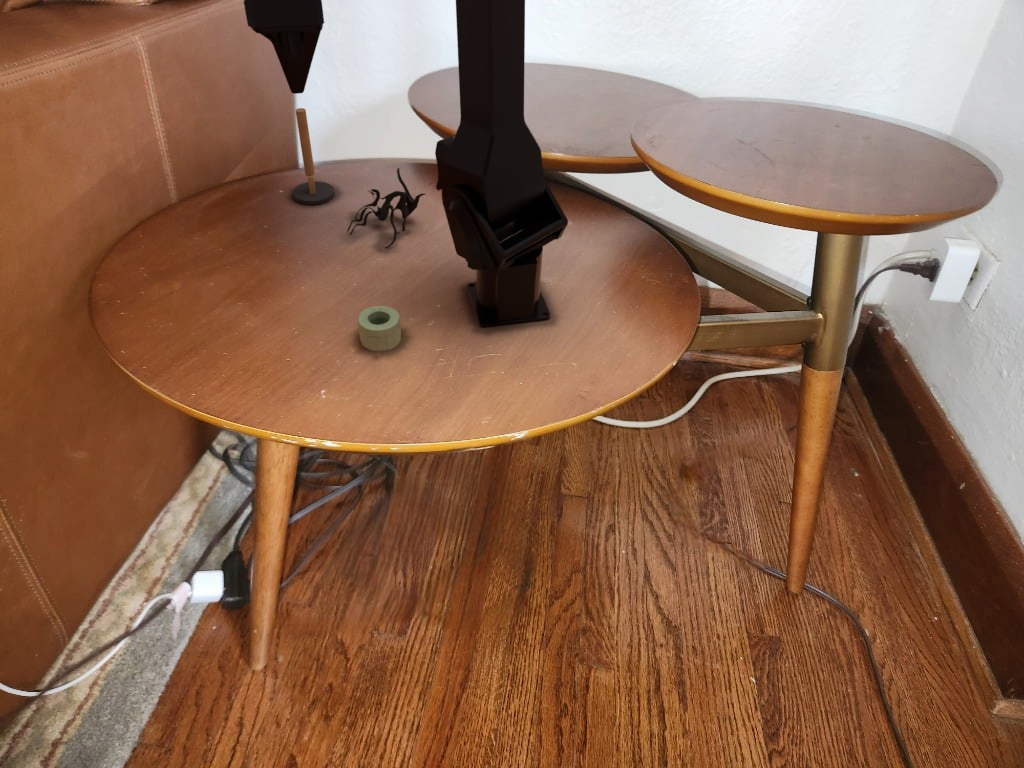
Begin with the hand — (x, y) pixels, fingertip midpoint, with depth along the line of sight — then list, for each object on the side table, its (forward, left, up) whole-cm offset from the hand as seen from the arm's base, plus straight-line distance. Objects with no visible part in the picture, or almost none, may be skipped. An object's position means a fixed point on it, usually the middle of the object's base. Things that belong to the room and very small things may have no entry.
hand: (295, 74), depth 76 cm
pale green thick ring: (-27, -4, -13) cm, 30 cm away
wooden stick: (0, 0, -12) cm, 13 cm away
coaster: (0, 0, -13) cm, 13 cm away
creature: (-9, -7, -13) cm, 17 cm away
